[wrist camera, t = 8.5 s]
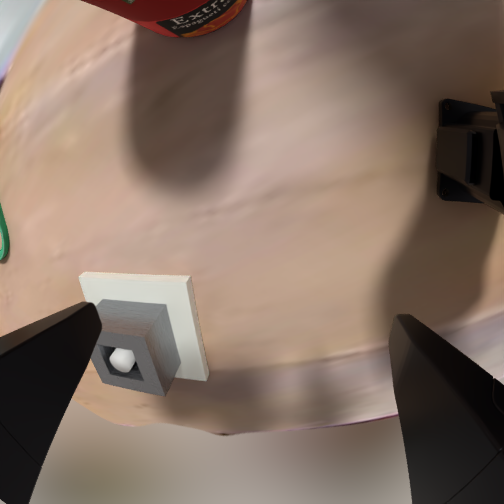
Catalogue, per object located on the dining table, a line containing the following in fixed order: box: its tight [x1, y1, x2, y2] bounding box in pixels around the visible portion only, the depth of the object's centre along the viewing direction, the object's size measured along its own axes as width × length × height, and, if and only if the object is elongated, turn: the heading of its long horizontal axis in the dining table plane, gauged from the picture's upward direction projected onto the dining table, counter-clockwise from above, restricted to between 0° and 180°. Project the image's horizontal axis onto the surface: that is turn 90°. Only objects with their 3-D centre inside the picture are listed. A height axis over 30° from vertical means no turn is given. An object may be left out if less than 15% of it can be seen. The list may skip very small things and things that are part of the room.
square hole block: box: [91, 299, 181, 396], centre depth 22 cm, size 6×6×4 cm
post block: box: [78, 272, 209, 381], centre depth 23 cm, size 10×10×5 cm
